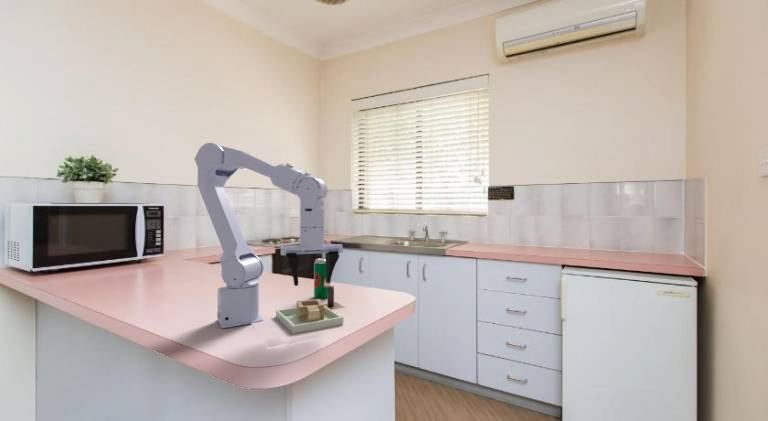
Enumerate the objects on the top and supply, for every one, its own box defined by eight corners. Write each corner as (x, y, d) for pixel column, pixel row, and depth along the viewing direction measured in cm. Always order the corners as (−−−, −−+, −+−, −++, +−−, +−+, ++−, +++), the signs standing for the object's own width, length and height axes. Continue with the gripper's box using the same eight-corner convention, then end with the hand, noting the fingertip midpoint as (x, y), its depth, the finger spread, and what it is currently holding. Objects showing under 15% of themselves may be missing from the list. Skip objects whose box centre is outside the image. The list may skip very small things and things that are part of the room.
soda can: (327, 300, 108) (327, 260, 108) (311, 299, 109) (311, 260, 109) (332, 296, 113) (332, 258, 113) (317, 295, 114) (317, 257, 114)
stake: (324, 312, 96) (324, 290, 96) (316, 306, 101) (316, 285, 101) (345, 308, 100) (345, 287, 99) (336, 303, 105) (336, 283, 105)
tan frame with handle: (327, 324, 85) (327, 309, 85) (301, 327, 83) (301, 312, 83) (319, 312, 94) (319, 299, 94) (296, 314, 92) (296, 301, 92)
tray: (293, 335, 79) (293, 326, 79) (275, 318, 91) (275, 310, 91) (343, 325, 86) (343, 317, 86) (321, 310, 98) (321, 303, 98)
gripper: (337, 225, 93) (337, 278, 93) (279, 226, 87) (279, 282, 87) (345, 227, 86) (344, 283, 86) (282, 228, 81) (282, 288, 81)
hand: (312, 283), depth 86 cm, fingers open, 7 cm apart
